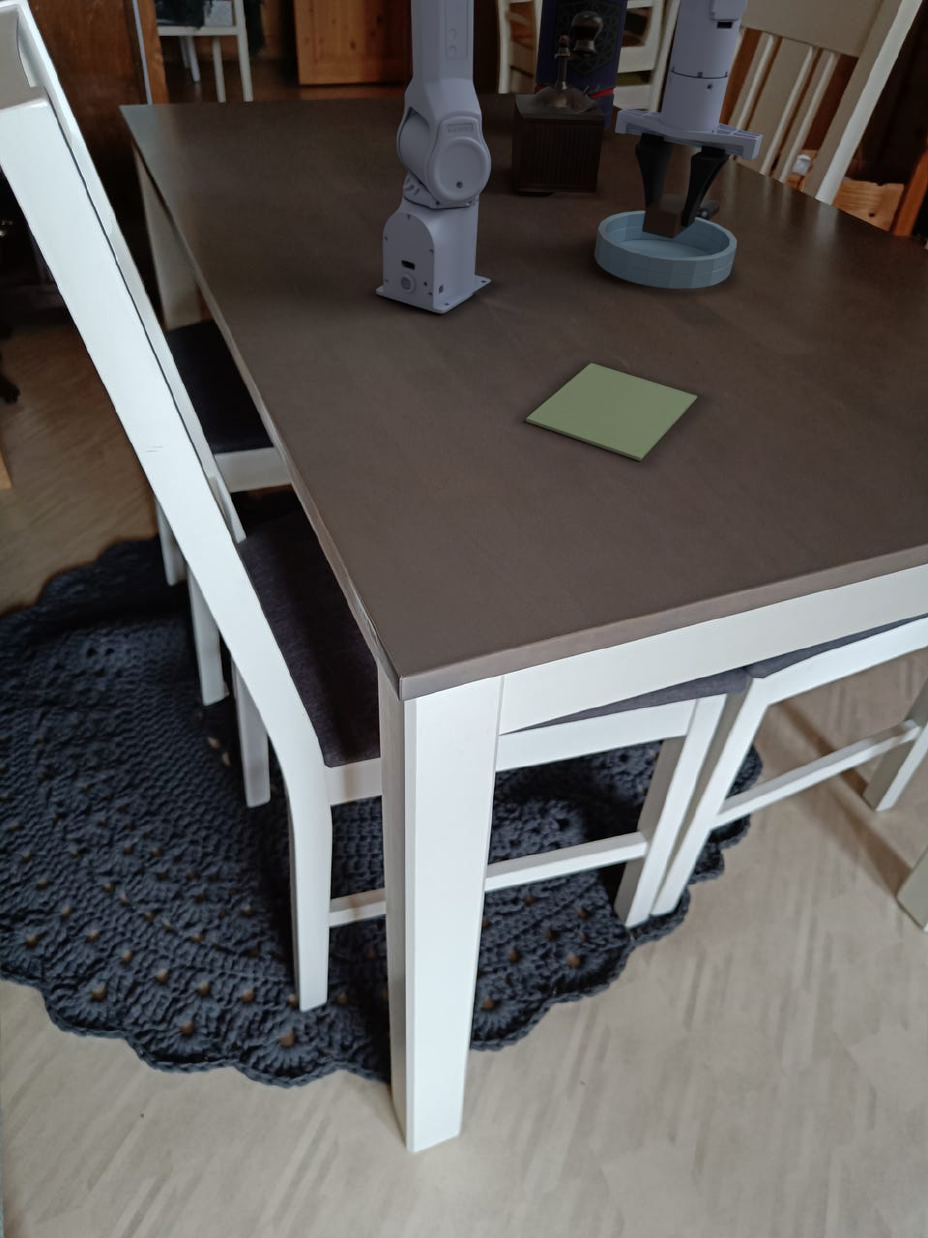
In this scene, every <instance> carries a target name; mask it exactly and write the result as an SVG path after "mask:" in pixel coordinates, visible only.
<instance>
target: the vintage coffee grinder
mask: <svg viewBox="0 0 928 1238" xmlns="http://www.w3.org/2000/svg"><path fill="white" fill-rule="evenodd" d="M602 27H603V22H602V18H601V17H600V16H599V15H598V14H597V13H596V12H592V11H582V12H580V13H578V14H577V15H575V17H574V19H573V21H572V29H573V31H574V33H575V35H576V38H577V43H576V46H575V48H574V50H573V51H574V53H570V50H569V49H568V46H569V42H570V39H569V36H567V35H563V36H561V37H560V39H559V45H560V48H559V49H558V51H559V53H558V54H555V59H556V60H557V61H559V71H558V81H557V82H556V84H555V85H553V86H548V87H546V88H544V89H542V90H540V91H539V92H537V93H536V94H534V93H532V94H525V93H523V94H521V93H520V94H519V93H518V94H517V93H516V94H515V96H514V105H513V106H514V107H513V121H512V138H511V165H510V171H509V173H510V178H511V179H510V180H511V182H512V185H513V187H514V190H515V192H516V194H517V195H524V196H543V197H550V196H551V195H554V194H555V193H574V194H577V193H578V194H597V186H598V185H597V184H598V176H599V169H600V162H601V154H602V148H603V139H604V134H605V133H604V132H605V131H604V126H605V117H604V114H603V112H602V110H601V108H600V107H599V105H598V101H597V100H596V99H595V98H594V97H593V96H587V95H586V93H587V92H588V89H589V85H588V86H587V87H586V89H585V90H584V92H583V91H581V90H579V89H577V88H576V87H574V86H572V85H571V84H568V85H567V84H566V82H565V76H566V64H567V61H570V60H573V59H576V58H579V57H581V58H582V59H583V60H584V59H585V57H587V56H588V55H589V54H595V53H596V50H595V47H594V41H595V39H596V37H597V36H598V34H599V33H600V32H601V31H602Z"/></svg>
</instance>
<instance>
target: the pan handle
mask: <svg viewBox="0 0 928 1238" xmlns="http://www.w3.org/2000/svg"><path fill="white" fill-rule="evenodd" d="M720 208H721V206H720V203H719V202H718V201H717V200H716V199H710V200H708V201H706V202H705V203H703V204H701V205H700V208H699V210H698V213H697V215H696V217H698V218H701V219H705V220H708V221H711V219H713V218H714V217H716V215H718V214H719V212H720Z"/></svg>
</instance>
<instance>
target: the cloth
mask: <svg viewBox="0 0 928 1238" xmlns="http://www.w3.org/2000/svg"><path fill="white" fill-rule="evenodd" d="M697 398H698V396H697V395H695V394H692V393H689V392H687V391H684V390H683V391H682V390H680V389H676V388H673V387H669V386H666V385H663V384H660V383H658V382H654V381H650V380H648V379H645V378H641V377H638V376H635V375H631V374H628V373H625V372H622V371H619V370H614V369H611V368H608V367H606V366H602V365H599V364H596V363H593V362H591V363H589V364H588V365H586V367H585V368H583V369H582V370H581V371H579V373H578V374H577V373H576V375H575V376H574V377H572V378H571V379H570V380H569V381H568V382H567V383H565V384H564V385H563V386H562V387H561V388H560V389H559V390H558V391H556V392H555V393H553V395H552V396H551V397H549V398H547V400H546V401H545V402H544V403H542V404H541V405H540V406H538V407H537V408H536V409H535V410H534V411H533V412H532V413H530V414H529V415H528V416H527V417H526V418H525V422H526V423H529V424H532V425H535V426H538V427H540V428H543V429H547V430H549V431H553V432H555V433H558V434H561V435H564V436H567V437H570V438H573V439H576V440H579V441H581V442H585V443H587V444H589V445H592V446H595V447H599V448H600V449H604V450H606V451H607V450H608V451H610V452H612V453H615V454H619V455H621V456H625V457H628V458H630V459H633V460H636V461H639V462H641V461H642V460H643V458H645V456H647V454H648V453H649V452H650V451H651V450H652V449H653V447H655V446H656V444H657V443H658V442H659V441H660V440H661V439H662V438H663V437H664V435H666V433H667V432H668V431H669V430H670V429H671V428H672V427H673V425H675V424H676V422H677V421H678V420H679V419H680V418H681V417H682V416H683V415H684V413H686V411H687V410H688V409H689V408H690V407H691V406H692V405H693V404H694V403H695V402H696V400H697Z"/></svg>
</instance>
